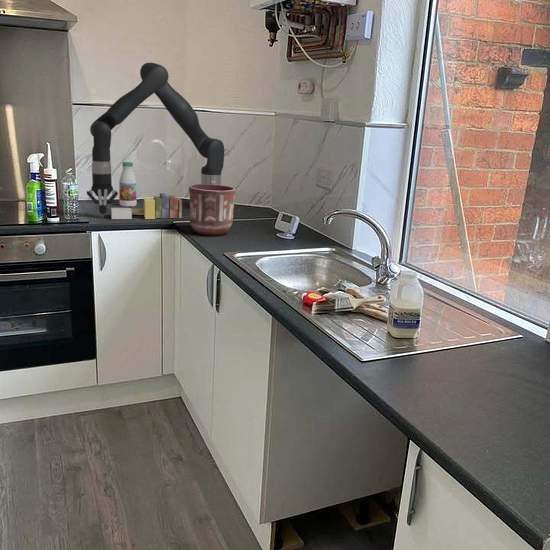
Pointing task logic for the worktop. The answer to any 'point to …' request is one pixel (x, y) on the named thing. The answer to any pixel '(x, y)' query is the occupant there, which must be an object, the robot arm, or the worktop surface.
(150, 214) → the butter yellow brick
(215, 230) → the pottery
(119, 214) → the off-white matte block
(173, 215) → the row of books
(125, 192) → the milk bottle
